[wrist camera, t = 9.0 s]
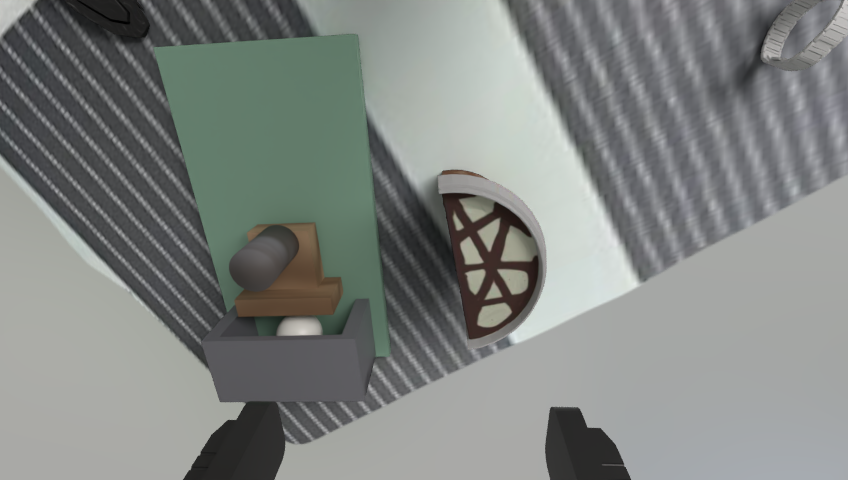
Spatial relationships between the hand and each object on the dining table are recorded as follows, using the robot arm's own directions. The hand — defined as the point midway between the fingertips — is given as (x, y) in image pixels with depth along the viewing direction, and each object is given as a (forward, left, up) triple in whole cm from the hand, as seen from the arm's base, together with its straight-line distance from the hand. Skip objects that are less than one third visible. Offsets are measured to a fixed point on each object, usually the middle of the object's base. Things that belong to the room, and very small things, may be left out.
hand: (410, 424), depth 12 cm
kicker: (+4, -12, -22) cm, 26 cm away
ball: (+11, -12, -21) cm, 27 cm away
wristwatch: (-11, +25, -24) cm, 36 cm away
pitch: (+1, -12, -24) cm, 27 cm away
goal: (+12, -12, -24) cm, 29 cm away
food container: (+2, +5, -24) cm, 24 cm away
